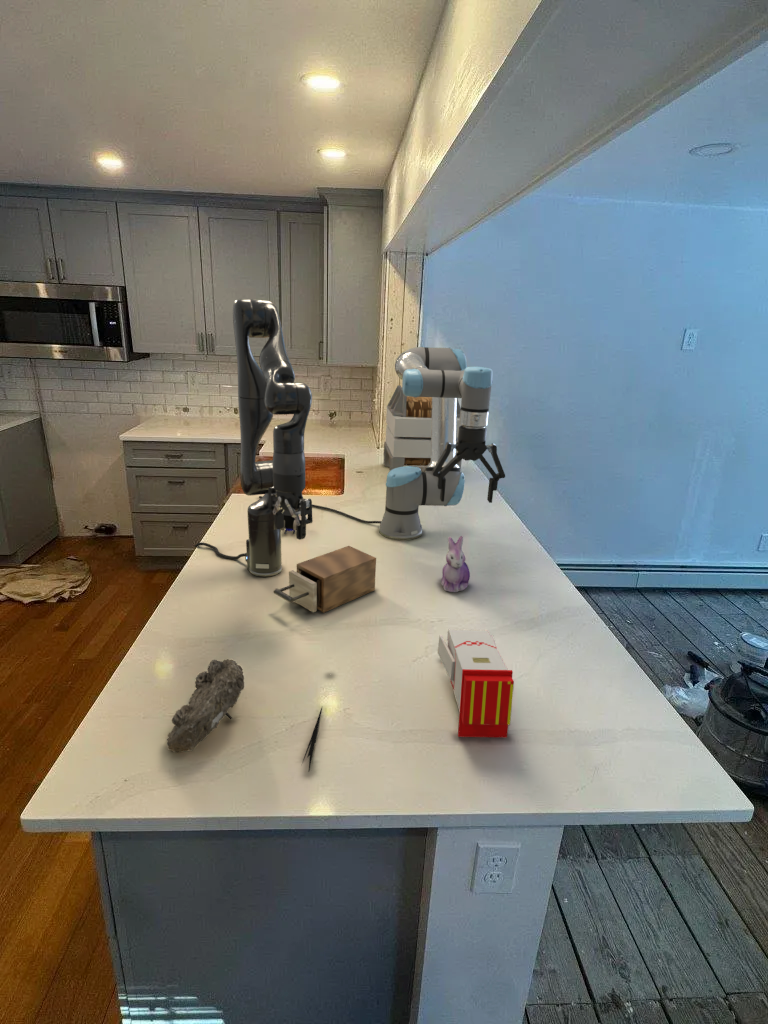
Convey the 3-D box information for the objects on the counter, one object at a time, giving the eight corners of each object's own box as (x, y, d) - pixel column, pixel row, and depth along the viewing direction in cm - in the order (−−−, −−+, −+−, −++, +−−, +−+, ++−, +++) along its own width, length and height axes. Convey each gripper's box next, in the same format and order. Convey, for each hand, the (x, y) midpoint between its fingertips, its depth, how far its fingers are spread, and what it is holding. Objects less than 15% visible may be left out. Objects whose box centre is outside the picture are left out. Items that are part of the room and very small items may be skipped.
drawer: (294, 620, 140) (293, 592, 138) (270, 606, 147) (269, 578, 144) (362, 591, 156) (363, 564, 154) (338, 578, 163) (339, 553, 160)
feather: (331, 679, 122) (336, 673, 122) (307, 777, 96) (313, 769, 95) (324, 675, 122) (329, 669, 121) (298, 772, 95) (304, 764, 95)
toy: (488, 613, 130) (523, 677, 101) (484, 667, 133) (517, 744, 104) (435, 612, 130) (455, 676, 101) (432, 666, 133) (451, 743, 103)
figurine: (451, 596, 157) (455, 546, 152) (431, 580, 166) (435, 533, 161) (478, 590, 162) (484, 541, 157) (458, 575, 170) (462, 529, 165)
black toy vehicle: (298, 540, 193) (303, 520, 207) (298, 520, 190) (303, 501, 204) (279, 540, 193) (285, 519, 207) (278, 520, 190) (284, 501, 203)
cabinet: (323, 613, 146) (323, 578, 143) (297, 597, 154) (296, 563, 150) (374, 590, 159) (376, 557, 156) (348, 576, 166) (348, 545, 163)
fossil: (192, 660, 117) (244, 628, 112) (224, 691, 120) (276, 661, 115) (142, 746, 98) (202, 712, 93) (182, 779, 101) (242, 748, 96)
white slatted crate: (382, 463, 289) (386, 382, 275) (445, 464, 293) (451, 384, 279) (390, 482, 257) (394, 392, 243) (460, 483, 261) (468, 394, 247)
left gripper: (258, 465, 135) (260, 528, 140) (295, 479, 126) (295, 546, 131) (283, 460, 140) (284, 521, 145) (321, 473, 131) (320, 538, 136)
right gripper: (428, 427, 149) (423, 503, 156) (522, 430, 150) (512, 506, 157) (425, 421, 156) (420, 495, 163) (514, 424, 157) (505, 497, 164)
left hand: (290, 533), depth 138 cm, fingers open, 8 cm apart
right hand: (465, 500), depth 160 cm, fingers open, 13 cm apart
